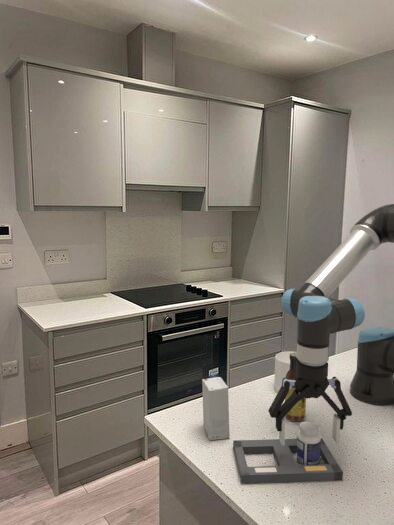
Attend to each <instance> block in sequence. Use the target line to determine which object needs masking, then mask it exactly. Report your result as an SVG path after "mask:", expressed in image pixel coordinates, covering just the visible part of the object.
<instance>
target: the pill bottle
mask: <svg viewBox="0 0 394 525" xmlns="http://www.w3.org/2000/svg"><path fill="white" fill-rule="evenodd" d="M321 438H322V437H321V435H320V426H319V424H317V423H316V422H313V421H309V420H308V421H307V420H306V421H302V422H300V424H299V431H298V433H297V436H296V439H297V453H296V464H297V465H321V464H320V463H321V457H320V447H321Z"/></svg>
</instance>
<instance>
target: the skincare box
mask: <svg viewBox="0 0 394 525" xmlns="http://www.w3.org/2000/svg"><path fill="white" fill-rule="evenodd" d="M201 383H202V385H201V386H202V387H201V388H202V410H203V411H202V417H203V420H202V421H203V422H202V423H203V428H204V430H205V433H206V434H207V436H208V438H209V440H210V441H215V440H216V441H217V440H226V439H230V411H229V409H230V408H229V407H230V406H229V404H230V402H229V386H228V385H227V384H226V382H225V381H224V380H223V378H222V377H220V376H217V377H215V376H214V377H209V378H202V380H201Z"/></svg>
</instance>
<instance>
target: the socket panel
mask: <svg viewBox="0 0 394 525" xmlns="http://www.w3.org/2000/svg"><path fill="white" fill-rule="evenodd" d="M232 449H233V454H234V458H235V463H236V467H237V472H238V476H239V481H240V484H241V485H246V484H247V485H250V484H251V485H253V484H254V485H255V484H278V483H279V484H280V483H281V484H282V483H310V482H316V483H317V482H337V481H339V482H342V481H343V476H344V475H343V474H344V472H343V470H342V468H341V466H340V465H339V464H338V462H337V460H336V458H335V457H334V455H333V454H332V452H331V450H330V449H329V447H328V446H327V444H326V442H325V441H324V439H323V438H322V437H321V447H320V460H321V461H322V462H323V463H321V464H320V465H299V464H298V463H297V461H296V460H295V458H294V456H293V454H297V438H285V445H281V443H280V440H279V438H278V439H277V438H276V439H274V438H273V439H269V438H268V439H237V440H232ZM248 455H249V456H251V455H273V458H274V461H275V464H276V465H267V466H266V465H264V466H263V465H262V466H261V465H260V466H248V464H247V459H246V456H248Z"/></svg>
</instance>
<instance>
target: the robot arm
mask: <svg viewBox="0 0 394 525" xmlns="http://www.w3.org/2000/svg"><path fill="white" fill-rule="evenodd" d="M386 243H391V244H392V243H393V244H394V203H391V204H385V205H382V206H380V207H377V208H375V209H373V210H371V211H370V212H369V213H366V215H363V217H361V218H360V219H359V220H358V221H357V222H356V223H355V224H354V225H353V226H352V227H350V231H349V235H347V237H346V238H345V239H344V241H342V242H341V243H340V244H339V246H338V247H337V248H335V250H334V251H333V252H332V253H331V254H330V255H329V256H328V257H327V259H326V260H325V261H323V263H322V264H321V265H320V266H318V268H317V269H316V270H315V271H314V273H313V274H311V276H310V277H309V278H308V279H307V280H306V281H305V282H304V283H303V284H302V285H301V286H300V287H299V289H298V288H290V289H287V290H286V291H285V292H284V293H283V295H281V300H280V302H281V303H280V305H281V306H280V307H281V309H282V311H283V312H285V314H288V315H289V316H292V317H294V318H297V322H296V323H297V328H296V329H297V330H296V331H297V332H296V333H297V337H296V352H297V354H296V357H297V360H296V377H295V379H294V380H287V378H283V380H282V386H281V388H280V390H279V392H278V393H277V392H276V393H277V394H276V396H275V397H274V399H273V400H272V402H271V405H270V407H269V408H268V413H269V416H270V418H272V419H275V428H276V430H277V432H278V439H279V440H280V443H281V445H285V439H286V422H287V420H286V419H285V418H286V417H285V416H286V414H287V413H288V412H289V411H290V410H291V409H292V408H293V407H294V406H295V404H296V403H297V402H298V401H301V400H302V398H303V397H305V398H306V399H311V398H314V399H319V398H320V397H322V398H323V400H325V402H326V403H327V404H328V405H329V406H330V407H331V409H332V410H333V411H334V412H335V413H332V431H331V432H332V433H331V438H332V440H333V442H334V443H335V444H336V445H339V444H340V435H341V434H340V433H341V431H342V430H343V429H344V425H345V424H344V423H345V420H346V419H347V416H349V417H351V416H352V415H353V411H352V409H351V407H350V406H349V404H348V401H347V399H346V397H345V395H344V393H343V391H342V388H341V387H342V384H341V381H340V379H339V378H337V376H332V378H329V379H328V377H329V376H328V375H329V373H328V372H329V363H328V362H329V356H330V337H331V335H332V334H334V333H338V332H343V331H349V330H353V329H354V328H357V327H360V326H361V325H362V324H363V322H364V321H365V316H366V314H365V313H366V312H365V309H364V307H363V305H362V303H361V302H360V301H358V300H357V299H355V298H343V299H337V298H334V297H330V296H331V295H332V294H333V293H334V292H335V290H336V289H338V288H339V286H340V285H341V284H342V282H343V281H345V279H346V278H347V277H348V276H349V274H351V273H352V271H353V270H354V269H355V268H356V267H357V266H358V265H359V263H361V261H362V260H363V259H364V258H365V257H366V256H367V255H368V253H369V252H371V251H375V250H377V249H378V248H379V246H380V245H382V244H386ZM292 386H295V387H296V388H295V389H294V391H293V393H292V394H291V395H290V397H289V398H288V399H287V400H286V401H285V398H286V396H287V394H288V392H289V389H291V388H292ZM329 386H330V387H331V388H332V389H333V390H334V392H335V395H336V397H337V399H338V401H339V403H340V405H341V407H342V409H341V408H339V406H338V405H337V404H336V403H335V401H334V400H333V399H332V398H331V397H330V396H329V394H328V393H327V392H326V390H327V389H328V387H329ZM299 392H300V393H299ZM349 393H350V395H352V397H354V398H355V399H357V400H359V401H361V402H364V403H367V404H371V405H376V406H377V405H378V406H391V405H394V328H391V327H377V326H376V327H375V326H374V327H367V328H364V329H361V330H360V331H359V333H358V339H357V356H356V370H355V373H354V375H353V378H352V380H351V382H350V385H349Z"/></svg>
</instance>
